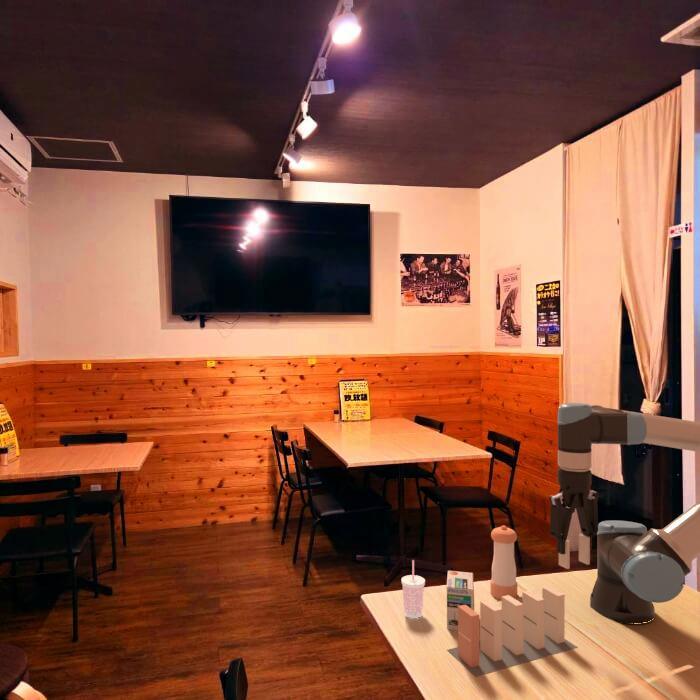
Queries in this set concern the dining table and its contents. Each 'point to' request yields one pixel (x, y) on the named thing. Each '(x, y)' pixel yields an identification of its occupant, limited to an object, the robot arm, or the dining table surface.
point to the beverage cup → (413, 594)
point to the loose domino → (512, 624)
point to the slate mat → (514, 656)
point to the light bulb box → (458, 595)
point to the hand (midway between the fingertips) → (574, 564)
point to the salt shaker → (503, 563)
